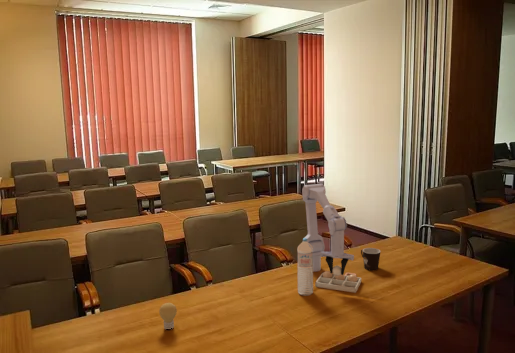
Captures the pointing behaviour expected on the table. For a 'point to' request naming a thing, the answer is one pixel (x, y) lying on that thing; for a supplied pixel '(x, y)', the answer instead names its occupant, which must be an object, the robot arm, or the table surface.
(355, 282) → the carton
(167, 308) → the light bulb
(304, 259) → the water bottle
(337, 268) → the white rounded ball
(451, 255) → the table surface
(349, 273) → the egg cup
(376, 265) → the coffee mug
